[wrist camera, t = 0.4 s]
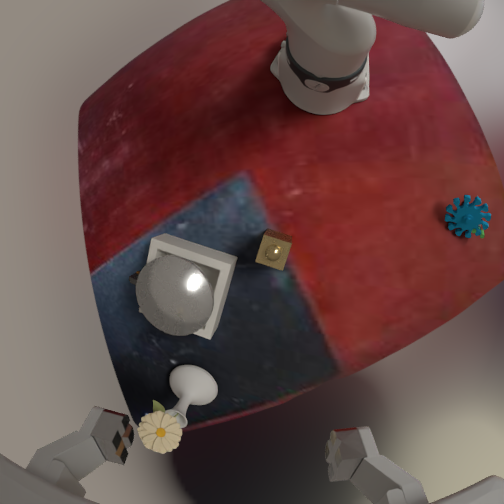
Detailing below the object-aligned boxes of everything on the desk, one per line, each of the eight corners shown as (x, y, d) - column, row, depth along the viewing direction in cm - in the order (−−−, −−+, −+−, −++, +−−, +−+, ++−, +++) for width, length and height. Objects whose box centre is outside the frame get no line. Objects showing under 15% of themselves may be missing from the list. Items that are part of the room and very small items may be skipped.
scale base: (163, 232, 56) (149, 237, 50) (237, 257, 54) (231, 264, 49) (150, 300, 59) (137, 310, 53) (217, 326, 58) (210, 339, 52)
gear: (435, 213, 46) (476, 190, 38) (435, 195, 49) (472, 172, 41) (462, 249, 48) (500, 231, 39) (461, 230, 51) (497, 211, 42)
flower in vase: (225, 398, 61) (195, 480, 37) (181, 400, 63) (141, 473, 39) (208, 352, 59) (165, 432, 35) (163, 356, 61) (108, 425, 37)
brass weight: (267, 228, 53) (263, 235, 44) (291, 236, 52) (291, 244, 44) (260, 251, 54) (254, 262, 45) (284, 259, 53) (282, 271, 45)
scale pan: (147, 236, 51) (133, 241, 46) (229, 264, 50) (222, 272, 45) (136, 303, 54) (122, 314, 49) (210, 332, 53) (202, 346, 48)
